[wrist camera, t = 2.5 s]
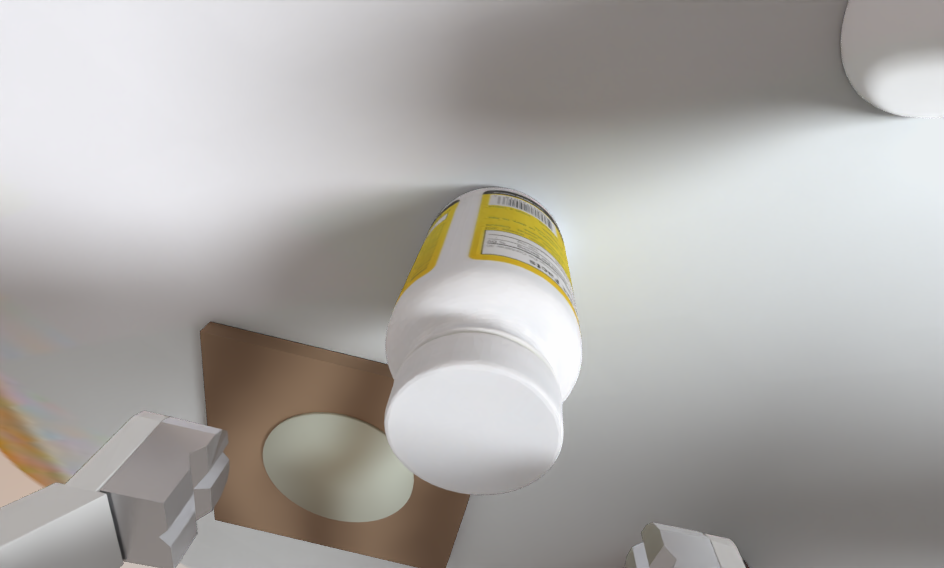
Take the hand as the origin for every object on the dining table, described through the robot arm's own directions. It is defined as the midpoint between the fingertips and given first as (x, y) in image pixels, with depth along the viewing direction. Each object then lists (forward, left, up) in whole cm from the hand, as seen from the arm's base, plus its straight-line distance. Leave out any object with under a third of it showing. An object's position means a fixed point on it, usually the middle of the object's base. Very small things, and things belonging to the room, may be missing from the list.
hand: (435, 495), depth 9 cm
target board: (+4, +14, -11) cm, 18 cm away
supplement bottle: (0, 0, -12) cm, 12 cm away
